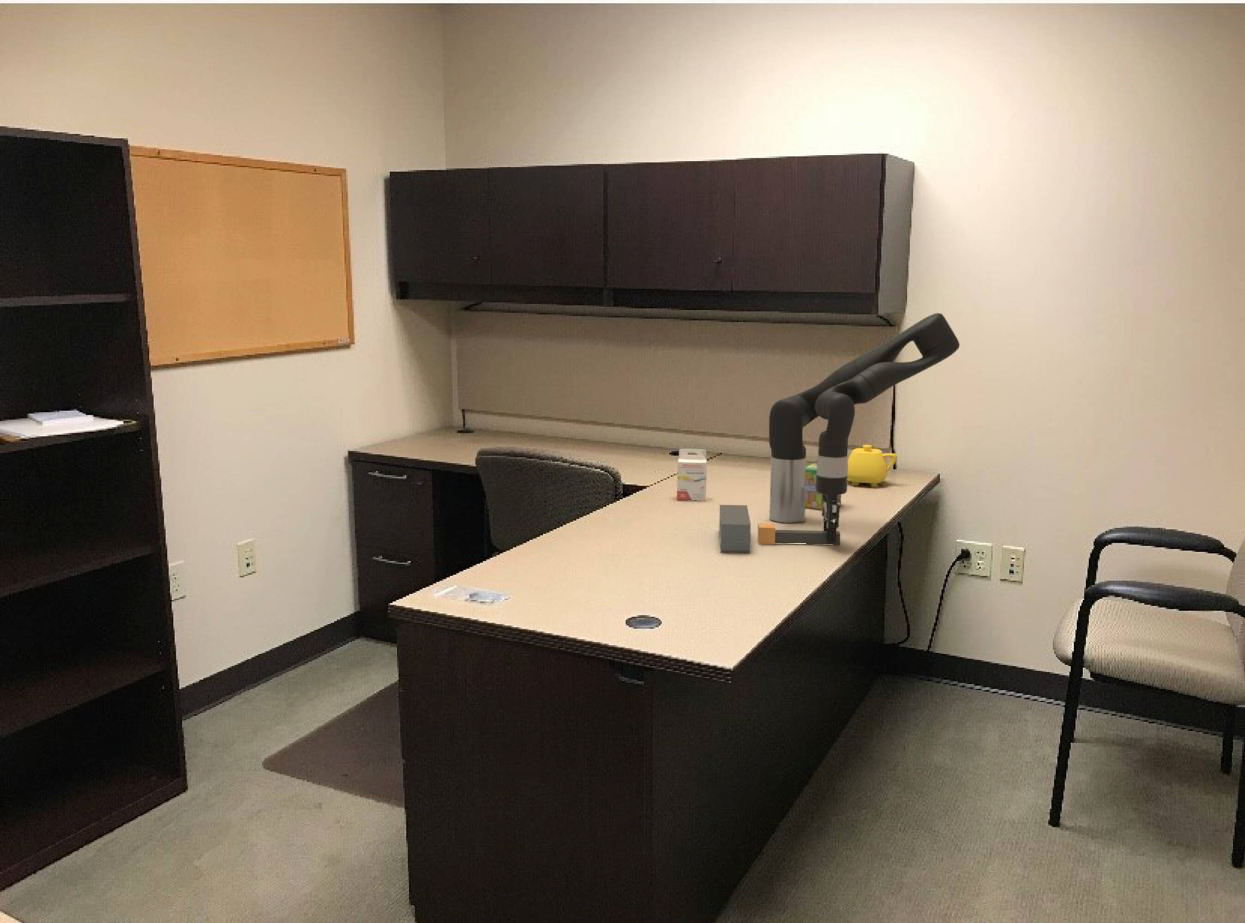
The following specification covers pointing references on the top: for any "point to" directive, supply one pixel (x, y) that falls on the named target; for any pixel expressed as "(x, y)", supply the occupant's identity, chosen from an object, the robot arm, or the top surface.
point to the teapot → (868, 466)
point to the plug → (792, 535)
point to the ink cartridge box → (691, 475)
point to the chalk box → (813, 489)
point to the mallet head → (734, 528)
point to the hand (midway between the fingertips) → (829, 539)
